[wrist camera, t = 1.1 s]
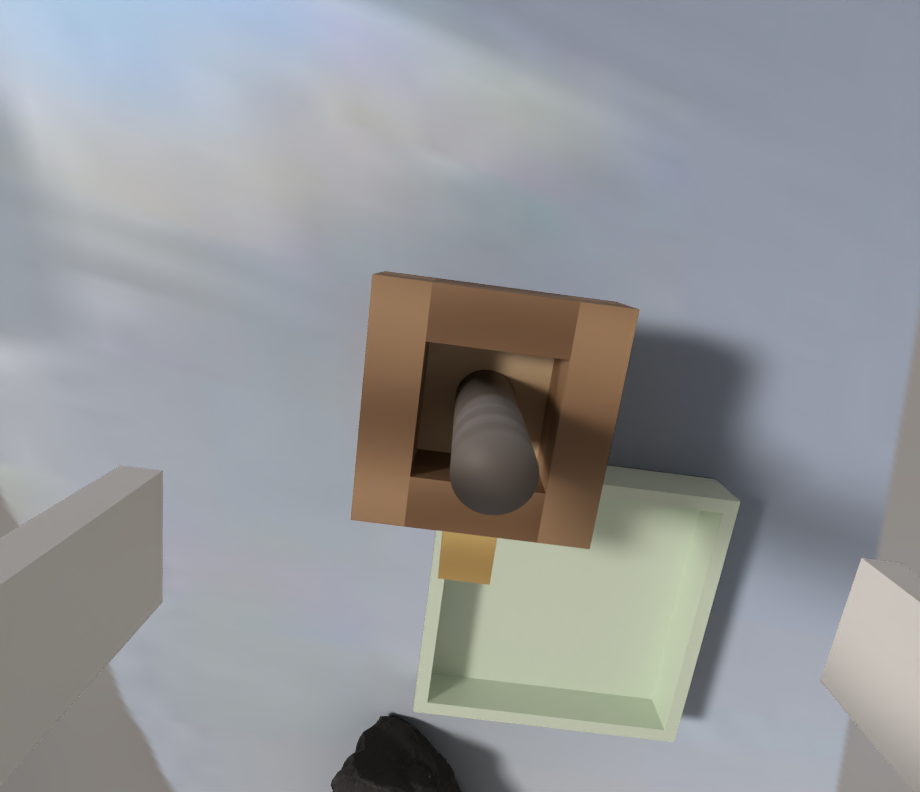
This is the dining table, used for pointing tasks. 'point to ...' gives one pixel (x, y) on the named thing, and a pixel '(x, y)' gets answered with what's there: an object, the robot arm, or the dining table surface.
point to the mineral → (394, 762)
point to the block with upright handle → (486, 422)
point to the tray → (585, 616)
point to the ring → (564, 427)
